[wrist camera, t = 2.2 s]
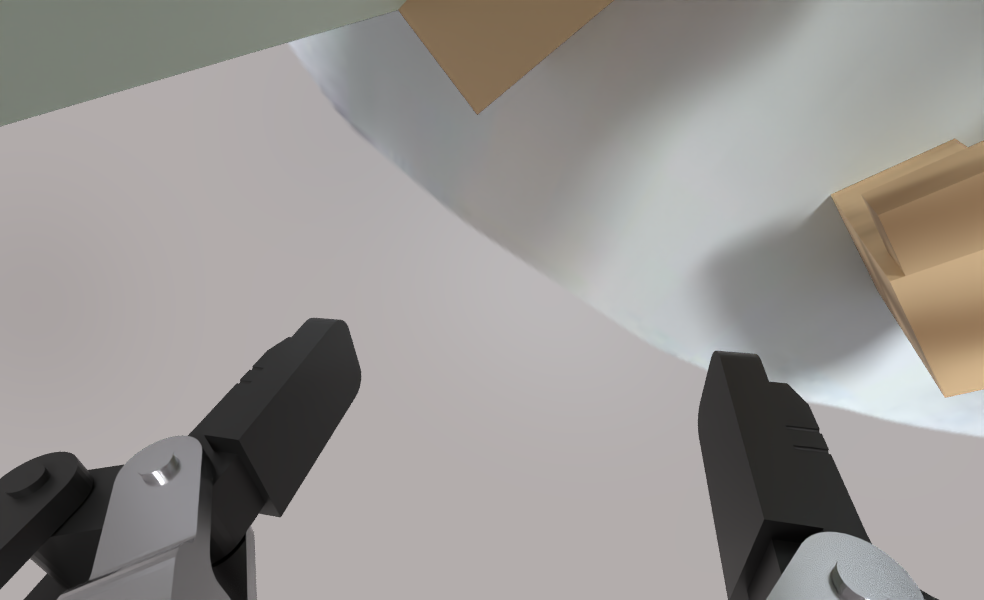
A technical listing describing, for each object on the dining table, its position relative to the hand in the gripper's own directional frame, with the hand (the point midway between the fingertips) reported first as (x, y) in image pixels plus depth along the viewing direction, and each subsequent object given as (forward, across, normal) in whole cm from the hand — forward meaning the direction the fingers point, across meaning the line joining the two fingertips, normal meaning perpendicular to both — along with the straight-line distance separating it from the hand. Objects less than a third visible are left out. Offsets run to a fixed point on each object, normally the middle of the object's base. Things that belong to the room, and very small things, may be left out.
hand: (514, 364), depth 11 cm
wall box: (+18, -17, +4) cm, 25 cm away
